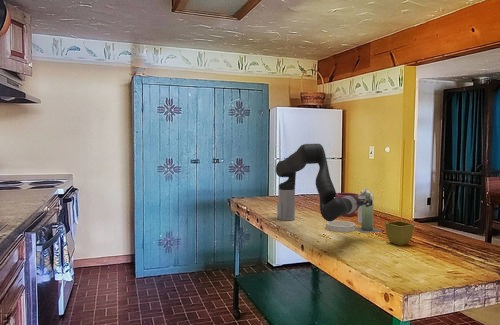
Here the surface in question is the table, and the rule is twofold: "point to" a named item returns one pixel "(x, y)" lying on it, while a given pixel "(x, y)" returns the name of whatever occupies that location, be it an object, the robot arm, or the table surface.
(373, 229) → the mat
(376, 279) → the table surface
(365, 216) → the olive bottle
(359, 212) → the milk carton
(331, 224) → the bowl
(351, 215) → the plant pot
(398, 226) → the flower pot
